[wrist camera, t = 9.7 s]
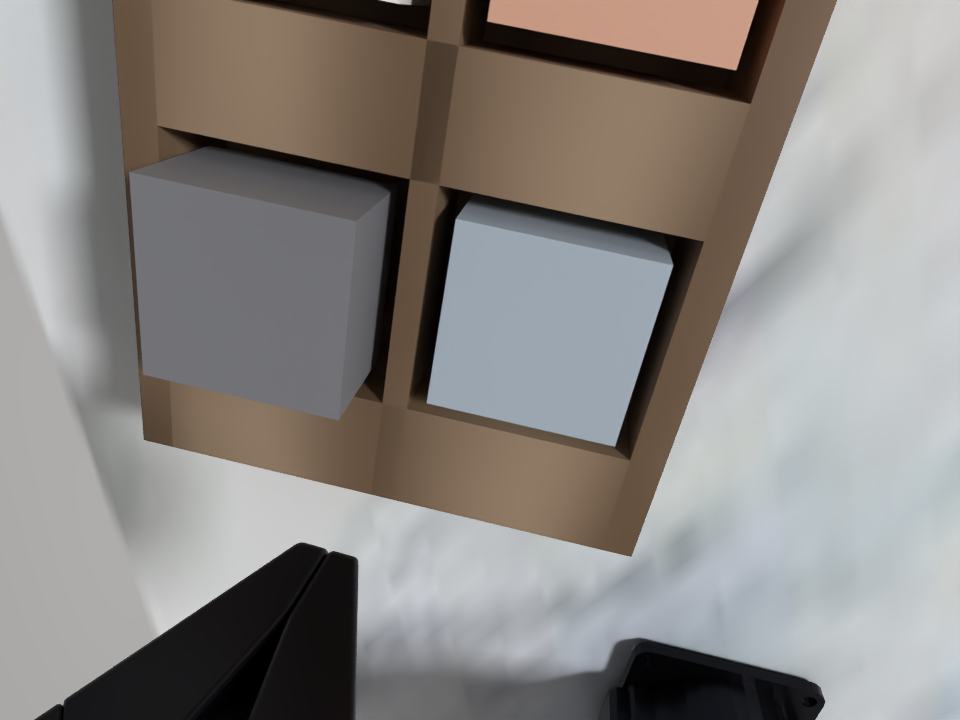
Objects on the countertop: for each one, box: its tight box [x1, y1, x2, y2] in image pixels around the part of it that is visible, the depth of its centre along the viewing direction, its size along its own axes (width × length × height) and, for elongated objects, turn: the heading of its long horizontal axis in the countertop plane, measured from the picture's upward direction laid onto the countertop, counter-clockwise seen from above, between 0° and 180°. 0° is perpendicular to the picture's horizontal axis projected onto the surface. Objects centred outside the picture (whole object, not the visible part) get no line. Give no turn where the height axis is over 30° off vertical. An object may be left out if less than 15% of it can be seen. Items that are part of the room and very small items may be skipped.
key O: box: [129, 145, 398, 420], centre depth 15 cm, size 4×4×3 cm
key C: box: [427, 193, 673, 447], centre depth 16 cm, size 4×4×3 cm
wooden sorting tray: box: [112, 0, 837, 557], centre depth 15 cm, size 13×19×4 cm
